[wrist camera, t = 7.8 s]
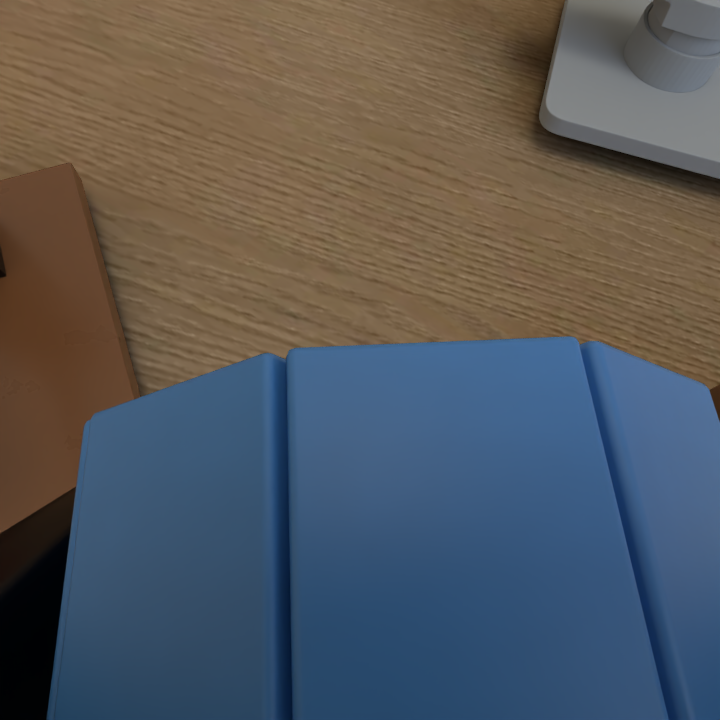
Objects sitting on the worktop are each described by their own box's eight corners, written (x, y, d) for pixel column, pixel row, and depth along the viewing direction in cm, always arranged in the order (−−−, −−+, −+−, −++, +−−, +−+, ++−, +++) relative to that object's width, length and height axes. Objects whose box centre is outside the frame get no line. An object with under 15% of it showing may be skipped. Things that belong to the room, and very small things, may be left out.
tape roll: (592, 652, 10) (1138, 784, 3) (162, 688, 9) (-261, 936, 3) (558, 482, 11) (907, 319, 4) (174, 505, 10) (-102, 360, 4)
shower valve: (563, -143, 28) (863, -71, 27) (526, -30, 33) (778, 34, 32) (521, 10, 23) (886, 105, 22) (485, 115, 28) (781, 196, 27)
